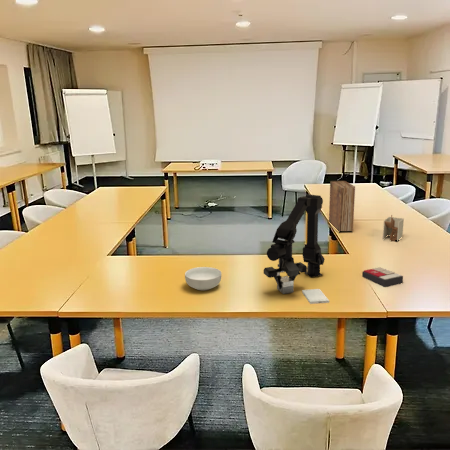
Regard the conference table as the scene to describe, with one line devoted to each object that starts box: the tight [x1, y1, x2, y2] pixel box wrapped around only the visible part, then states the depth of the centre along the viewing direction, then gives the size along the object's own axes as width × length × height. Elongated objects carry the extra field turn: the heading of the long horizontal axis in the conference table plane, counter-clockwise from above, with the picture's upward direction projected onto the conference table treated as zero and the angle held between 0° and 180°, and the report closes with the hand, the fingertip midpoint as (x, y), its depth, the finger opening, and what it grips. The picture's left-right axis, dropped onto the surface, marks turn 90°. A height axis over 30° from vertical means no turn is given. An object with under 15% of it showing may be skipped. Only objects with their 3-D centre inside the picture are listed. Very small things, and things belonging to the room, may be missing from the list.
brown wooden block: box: [328, 179, 356, 233], centre depth 294 cm, size 25×9×30 cm, turn 2°
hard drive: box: [301, 288, 330, 305], centre depth 191 cm, size 2×8×12 cm
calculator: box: [361, 266, 404, 288], centre depth 208 cm, size 11×4×15 cm
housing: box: [276, 276, 295, 295], centre depth 197 cm, size 6×5×6 cm
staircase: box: [382, 214, 405, 242], centre depth 269 cm, size 9×11×17 cm
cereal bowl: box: [184, 266, 222, 291], centre depth 204 cm, size 17×17×7 cm
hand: (285, 287), depth 197 cm, fingers closed on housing, 5 cm apart
